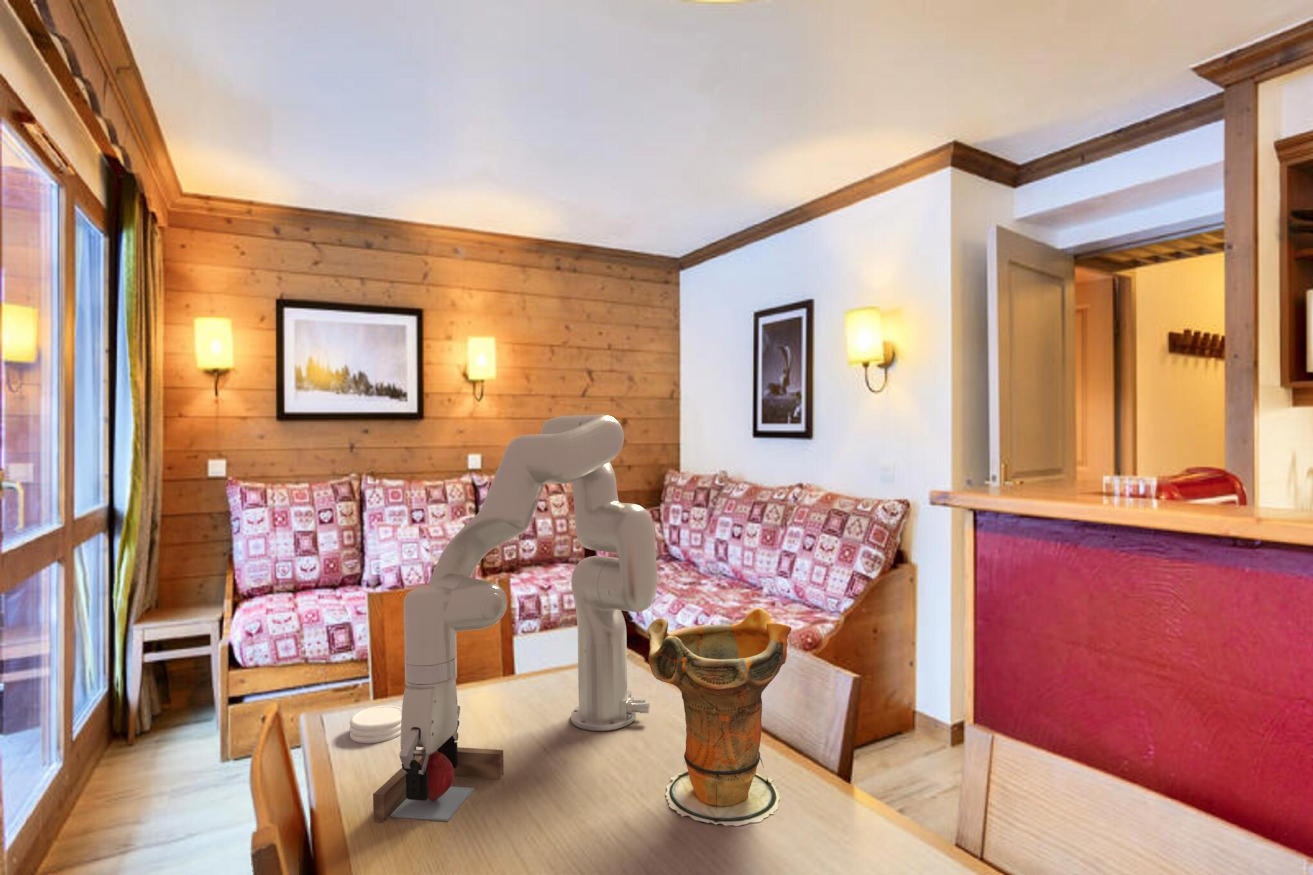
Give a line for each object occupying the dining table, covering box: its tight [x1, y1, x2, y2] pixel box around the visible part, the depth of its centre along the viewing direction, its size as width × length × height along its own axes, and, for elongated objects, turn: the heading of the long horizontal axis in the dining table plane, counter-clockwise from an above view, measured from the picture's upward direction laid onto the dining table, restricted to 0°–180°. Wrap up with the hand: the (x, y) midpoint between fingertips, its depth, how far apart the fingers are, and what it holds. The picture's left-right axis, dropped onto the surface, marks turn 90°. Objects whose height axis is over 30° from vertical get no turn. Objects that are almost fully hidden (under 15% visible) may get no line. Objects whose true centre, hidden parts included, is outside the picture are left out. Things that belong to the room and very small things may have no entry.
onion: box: [419, 750, 455, 801], centre depth 108 cm, size 6×6×8 cm
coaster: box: [349, 705, 402, 744], centre depth 134 cm, size 10×10×4 cm
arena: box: [372, 746, 505, 823], centre depth 109 cm, size 14×16×4 cm
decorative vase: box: [646, 607, 792, 827], centre depth 108 cm, size 21×23×28 cm
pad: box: [390, 785, 475, 822], centre depth 107 cm, size 9×9×1 cm
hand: (433, 782), depth 107 cm, fingers open, 9 cm apart
